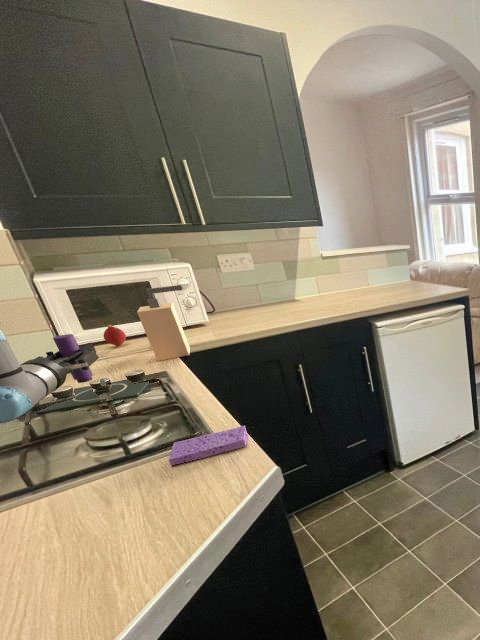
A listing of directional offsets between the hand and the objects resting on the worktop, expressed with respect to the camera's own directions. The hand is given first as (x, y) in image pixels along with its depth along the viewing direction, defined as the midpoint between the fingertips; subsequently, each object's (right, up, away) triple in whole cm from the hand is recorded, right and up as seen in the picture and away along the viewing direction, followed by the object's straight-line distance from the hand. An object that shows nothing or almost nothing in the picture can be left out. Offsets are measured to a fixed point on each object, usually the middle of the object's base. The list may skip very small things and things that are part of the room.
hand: (81, 349), depth 110 cm
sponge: (+53, -22, -26) cm, 63 cm away
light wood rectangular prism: (+1, +1, +32) cm, 32 cm away
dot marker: (+3, -8, -2) cm, 9 cm away
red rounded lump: (-31, +4, +43) cm, 53 cm away
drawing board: (+3, -12, +2) cm, 12 cm away
